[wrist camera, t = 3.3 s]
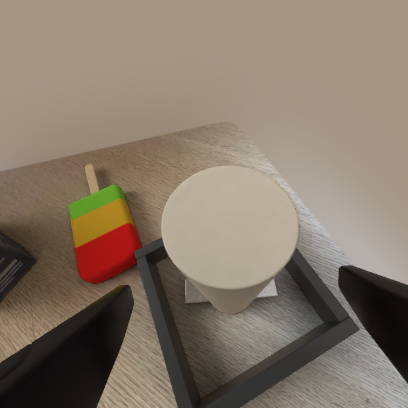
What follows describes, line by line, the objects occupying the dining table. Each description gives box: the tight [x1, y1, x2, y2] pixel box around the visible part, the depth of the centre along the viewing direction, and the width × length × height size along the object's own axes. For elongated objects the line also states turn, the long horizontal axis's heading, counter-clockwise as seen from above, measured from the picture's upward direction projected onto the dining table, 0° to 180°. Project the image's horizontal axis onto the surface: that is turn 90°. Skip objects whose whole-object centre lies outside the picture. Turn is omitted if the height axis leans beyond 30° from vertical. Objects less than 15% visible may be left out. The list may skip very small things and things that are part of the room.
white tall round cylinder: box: [161, 166, 299, 314], centre depth 11 cm, size 7×4×13 cm, turn 94°
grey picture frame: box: [134, 238, 359, 408], centre depth 15 cm, size 12×12×2 cm
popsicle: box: [69, 164, 142, 283], centre depth 21 cm, size 6×15×2 cm, turn 27°
